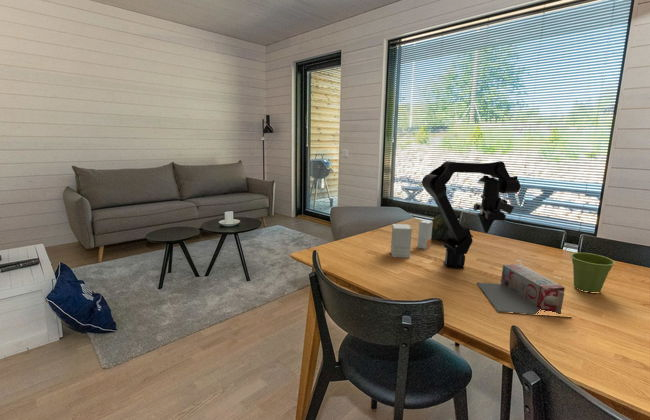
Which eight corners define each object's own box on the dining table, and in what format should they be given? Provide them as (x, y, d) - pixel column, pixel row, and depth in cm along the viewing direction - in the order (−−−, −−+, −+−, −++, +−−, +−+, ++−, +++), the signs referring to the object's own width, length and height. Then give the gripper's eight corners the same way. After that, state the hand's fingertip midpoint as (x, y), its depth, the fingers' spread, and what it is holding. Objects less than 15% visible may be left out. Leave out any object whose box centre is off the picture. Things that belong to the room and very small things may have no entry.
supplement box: (407, 252, 151) (409, 224, 148) (409, 258, 143) (412, 228, 141) (390, 251, 151) (392, 223, 149) (391, 257, 144) (393, 228, 141)
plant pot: (566, 279, 125) (572, 249, 123) (608, 289, 118) (615, 257, 116) (563, 290, 116) (569, 258, 114) (608, 301, 109) (615, 267, 107)
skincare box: (425, 249, 155) (428, 223, 152) (416, 247, 158) (419, 222, 155) (430, 246, 160) (433, 221, 157) (422, 244, 162) (424, 219, 160)
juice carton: (500, 283, 120) (550, 315, 98) (503, 264, 118) (554, 293, 97) (517, 282, 121) (570, 314, 99) (520, 264, 119) (574, 292, 98)
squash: (420, 224, 178) (435, 206, 166) (445, 223, 182) (460, 206, 171) (430, 248, 170) (446, 231, 158) (456, 247, 174) (473, 230, 163)
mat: (497, 312, 100) (497, 310, 100) (476, 283, 120) (476, 282, 120) (571, 318, 98) (571, 316, 98) (538, 288, 118) (538, 286, 118)
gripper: (523, 198, 123) (517, 241, 126) (503, 190, 141) (498, 227, 144) (490, 197, 124) (485, 239, 127) (475, 189, 142) (470, 226, 145)
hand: (485, 232), depth 136 cm, fingers closed
